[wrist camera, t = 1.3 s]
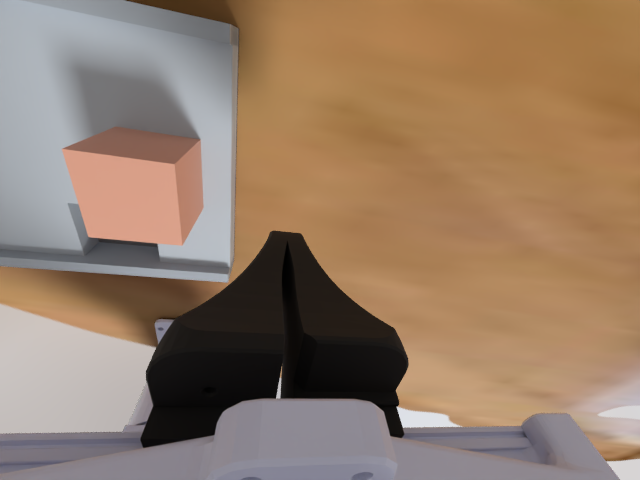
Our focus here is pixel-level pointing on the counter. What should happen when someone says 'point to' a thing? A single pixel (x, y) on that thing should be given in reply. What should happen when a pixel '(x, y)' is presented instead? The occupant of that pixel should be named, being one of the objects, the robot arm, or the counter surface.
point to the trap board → (105, 113)
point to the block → (137, 185)
